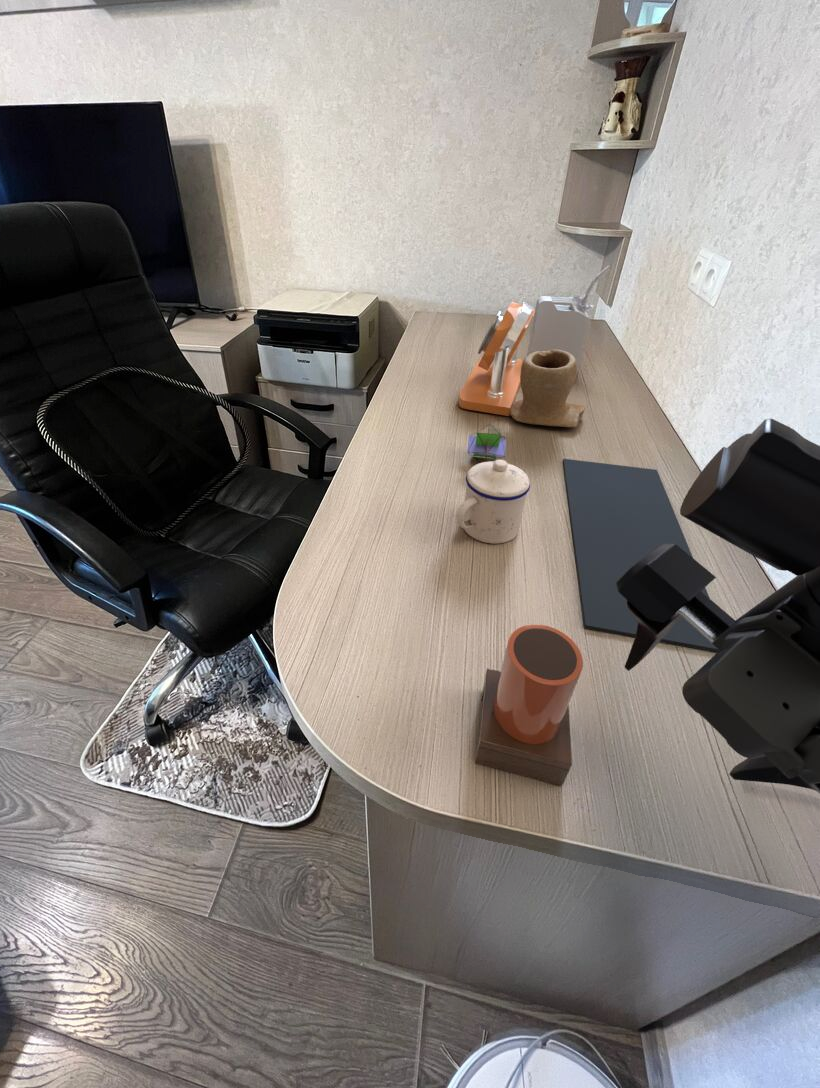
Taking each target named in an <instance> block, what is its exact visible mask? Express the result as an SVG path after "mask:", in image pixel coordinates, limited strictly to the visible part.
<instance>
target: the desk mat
mask: <svg viewBox="0 0 820 1088" xmlns="http://www.w3.org/2000/svg"><path fill="white" fill-rule="evenodd" d="M562 466H563V473H564V481H565V488H566V489H565V490H566V496H567V504H568V505H567V506H568V514H569V519H570V529H571V535H572V536H571V537H572V543H573V550H574V551H573V553H574V558H575V559H574V560H575V565H576V574H577V582H578V589H579V590H578V591H579V597H580V604H581V612H582V620H583V628H584V629H586V630H592V631H597V632H602V633H603V632H604V633H609V634H613V635H620V636H624V637H631V638H635V637H636V632H637V626H638V621H637V619H636V617H635V616H634V614H633V613H632V612H631V611H630V610H629V609H628V608H627V606H626V602H627V599H626V598H625V597H623V596H622V595H621V594H620V593H619V592H618V589H617V585H616V582H617V581H618V580H619V579H620V578H621V577H622V576H623V575H624V574H625V573H626V572H627V571H628V570H629V569H630V568H631V567H632V566H634V565H635V564H636V563H637V562H638V561H640V560H641V559H643V558H644V557H646V556H647V555H648V554H650V553H651V552H653V551H654V550H656V549H657V548H659V547H660V546H661V545H663V544H676V545H678V546H679V547H680V548H681V549H682V550H684V551H685V552H686V553H687V554H688V555H690V556H691V557H692V558H693V559H694V556H693V554H692V552H691V550H690V547H689V543H688V542H687V540H686V537H685V535H684V532H683V530H682V527H681V525H680V522H679V520H678V518H677V515H676V512H675V510H674V508H673V505H672V503H671V501H670V498H669V496H668V493H667V491H666V489H665V486H664V484H663V481H662V478H661V477H660V474H659V472H658V469H655V468H645V467H637V466H629V465H621V464H611V463H605V462H595V461H587V460H578V459H572V458H563V459H562ZM701 592H702V593H704V594H705V595H706V596H707V597H708V598H709V599H711V598H710V594H709V593H708V590H707V588H706V587H705V588H704V589H702V590H701ZM659 643H663V644H668V645H674V646H680V647H685V648H690V649H697V650H700V651H701V650H702V651H708V652H711V653H716V654H717V653H718V652H720V650H719V649H718V648H716V647H715V646H714V645H713V644H712V643H711V642H710V641H709V640H708V639H707V638H706V637H705V636H703V635H702V634H701V633H700V632H699V631H698V630H697V629H696V628H695V627H693V626H692V625H691V624H690V623H689V622H688V621H687V620H686V619H684V618H683V617H682V616H681V618H680V619H679V620H678V621H677V622H676V623H675V624H674V626H673V627H672V628H671V629H670V630H669V631H668V632H667V633H666V635H665V636H664V637H663V638H662V639H661V640H660V641H659Z"/></svg>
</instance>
